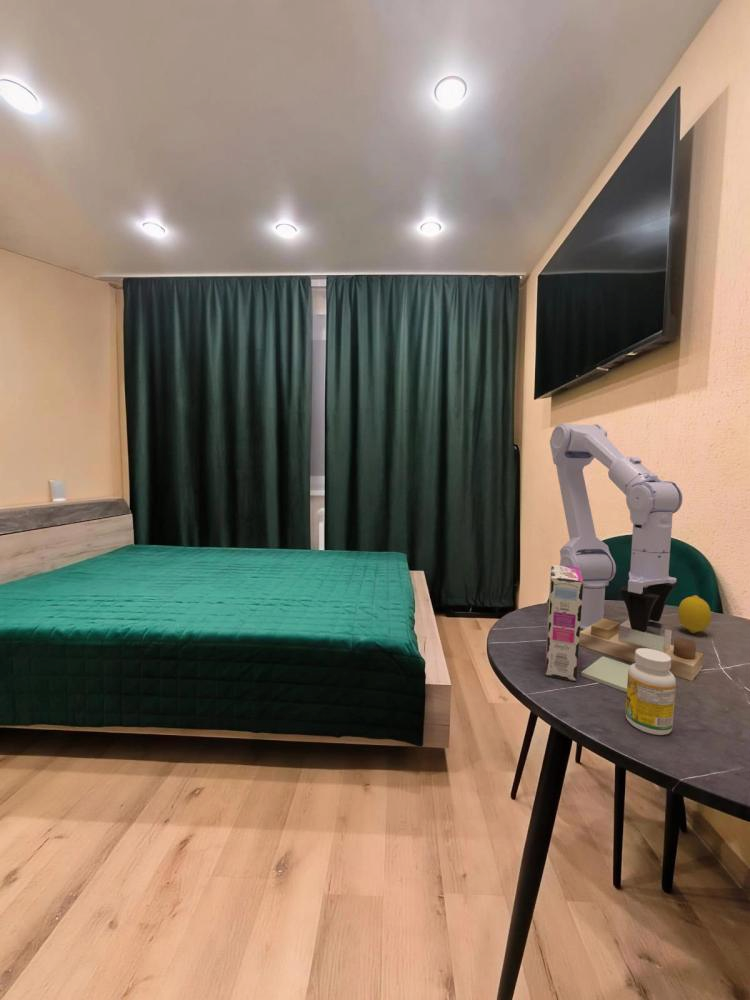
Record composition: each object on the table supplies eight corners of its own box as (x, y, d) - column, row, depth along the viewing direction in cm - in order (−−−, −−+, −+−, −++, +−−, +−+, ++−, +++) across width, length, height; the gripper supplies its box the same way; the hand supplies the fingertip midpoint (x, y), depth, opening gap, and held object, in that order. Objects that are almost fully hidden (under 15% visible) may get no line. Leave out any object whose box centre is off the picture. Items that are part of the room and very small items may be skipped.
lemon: (703, 630, 91) (706, 593, 90) (714, 640, 85) (717, 601, 85) (672, 626, 92) (675, 590, 92) (681, 636, 87) (684, 597, 87)
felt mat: (580, 675, 70) (581, 672, 70) (602, 659, 76) (602, 656, 76) (643, 698, 64) (643, 694, 63) (661, 678, 70) (661, 675, 69)
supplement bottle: (669, 742, 54) (675, 668, 53) (621, 724, 57) (625, 655, 56) (674, 722, 58) (679, 653, 57) (629, 707, 61) (633, 642, 60)
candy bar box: (579, 683, 68) (584, 581, 66) (545, 676, 70) (549, 578, 68) (575, 654, 78) (580, 566, 77) (546, 649, 80) (550, 563, 79)
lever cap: (618, 641, 78) (619, 619, 78) (626, 635, 81) (628, 614, 81) (662, 654, 73) (664, 631, 73) (670, 647, 76) (672, 625, 76)
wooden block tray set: (578, 644, 82) (579, 620, 82) (593, 635, 87) (594, 612, 86) (692, 681, 69) (694, 651, 68) (702, 667, 74) (704, 639, 73)
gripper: (664, 559, 68) (659, 642, 69) (688, 548, 77) (683, 621, 78) (616, 552, 73) (611, 629, 74) (644, 542, 83) (639, 611, 84)
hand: (645, 625), depth 77 cm, fingers open, 7 cm apart
